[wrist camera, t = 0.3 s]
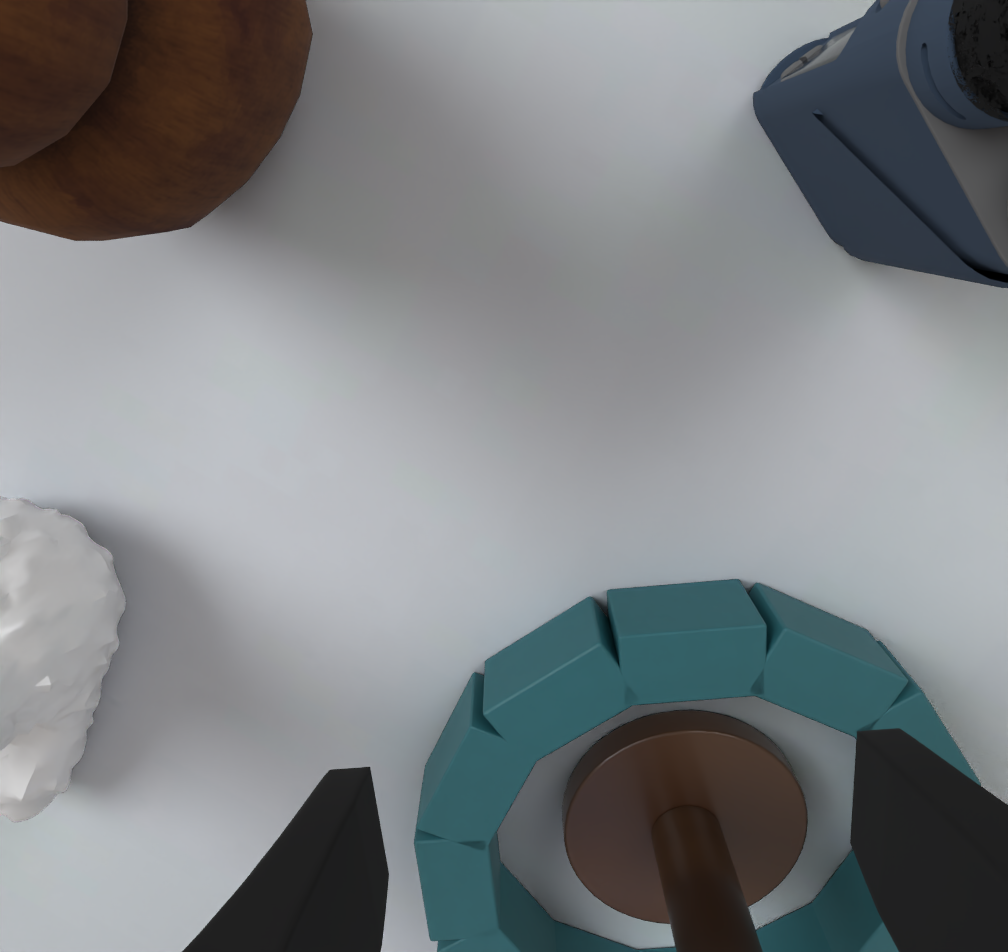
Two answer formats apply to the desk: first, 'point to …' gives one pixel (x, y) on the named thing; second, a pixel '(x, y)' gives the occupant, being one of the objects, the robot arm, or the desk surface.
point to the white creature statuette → (50, 649)
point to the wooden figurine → (140, 108)
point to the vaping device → (903, 135)
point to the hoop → (637, 681)
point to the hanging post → (685, 825)
